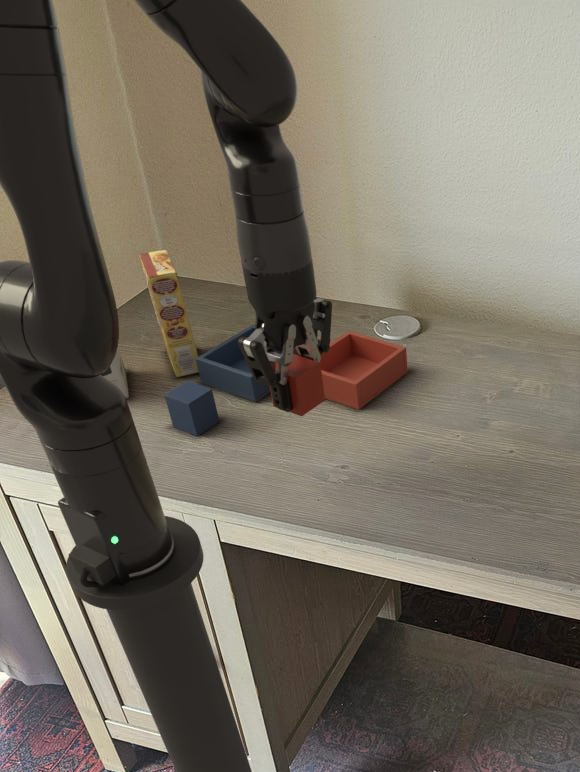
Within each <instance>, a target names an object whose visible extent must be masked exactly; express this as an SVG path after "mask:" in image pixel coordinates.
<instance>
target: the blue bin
mask: <svg viewBox="0 0 580 772" xmlns="http://www.w3.org/2000/svg"><path fill="white" fill-rule="evenodd" d="M255 330H256V329H255V324H250V325H249V326H248V327H246V328H244V329H243V330H240V331H239V332H238V333H236V334H234V335H232V336H231V337H229V338H228V339H225V340H224V341H222V342H221V343H219V344H217V345H215V346H213V347H212V348H210V349H209V350H207V351H205V352H203V353H202V354H201V355H198V357H197V358H196V363H197V367H198V371H199V373H198V375H199V378H200V382H201V384H202V385H206V386H209V387H211V388H213V389H217V390H220V391H222V392H225V393H228V394H231V395H234V396H237V397H240V398H243V399H245V400H248V401H250V402H253V403H257V402H258V401H260V400H261V399H263V398H264V397H266V396H267V395H269V394H271V391H270V386H269V385H267V384H265V383H262V382H258V381H255V380H254V378H253V375H252V373H251V371H250V369H249V367H248V365H247V363H246V360H245V358H244V356H243V354H242V352H241V350H240V348H239V345H238V340H239V338H240V337H245V338H248V337H249V336H250V335H251V334H252V333H253V332H254V331H255ZM274 351H275V352H276V353H278V354H281V355H282V353H283V352H281V351H278V350H275V349H274ZM293 354H295V355H298V353H297V351H296V348H294V349H293ZM298 356H299V355H298Z"/></svg>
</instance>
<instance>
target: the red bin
mask: <svg viewBox="0 0 580 772" xmlns="http://www.w3.org/2000/svg"><path fill="white" fill-rule="evenodd" d="M407 356H408V355H407V347H405V346H403V345H399V344H396V343H392V342H388V341H385V340H382V339H380V338H379V339H378V338H376V337H373V336H368V335H365V334H362V333H359V332H356V331H352V330H348V331H346V332H345V333H343V334H341V335H340V336H338V337H337V338H335V339H334V340H332V341H330V348H329V351H328V352H327V353H325V352H323V353H322V355H321V360H320V364H321V372H322V380H323V387H324V395H325V400H329V401H332V402H335V403H337V404H340V405H344V406H346V407H350V408H351V409H352V408H353V409H356V410H361V409H362V408H363V407H365V406H366V405H367V404H368V403H370V402H371V401H372V400H373V399H375V398H376V397H378V396H379V395H380V394H381V393H382V392H384V391H385V390H387V389H388V388H389V387H391V386H392V385H393V384H394V383H396V381H398V380H400V379H402V377H403V376H405V375H406V374H407V373H408V372H409V370H408V357H407Z"/></svg>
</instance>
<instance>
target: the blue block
mask: <svg viewBox="0 0 580 772" xmlns="http://www.w3.org/2000/svg"><path fill="white" fill-rule="evenodd" d="M163 396H164V400H165V403H166V406H167V410H168V413H169V417H170V421H171V424H172V427H173V428H175V429H177V430H180V431H182V432H185V433H188V434H191V435H193V436H196V437H198V436H200V435H202V434H203V433H204V432H206V431H207V430H209V429H210V428H212V427H213V426H215V425H216V424H217V423H219V422H220V417H219V411H218V409H217V405H216V400H215V396H214V393H213V389H212V388H210V387H207V386H204V385H203V384H202V385H201V384H198V383H196V382H193V381H190V380H186V381H184V382H183V383H181V384H180V385H178V386H177V387H174V388H173V389H172V390H170V391H168V392H167V393H165V394H163Z"/></svg>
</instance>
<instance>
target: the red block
mask: <svg viewBox="0 0 580 772" xmlns="http://www.w3.org/2000/svg"><path fill="white" fill-rule="evenodd" d="M278 370H279V365H278V363H276V367H275V371H277V372H278ZM288 382H289V384H290V390H291V396H292V402H293V410H291V411H290V412H289V413H291V414H293V415H297V416H299V417H304V416H305V415H306V414H308V413H309V412H311V411H312V410H313V409H315V408H316V407H318V406H319V405H320V404H323V403H324V402H325V401H326V398H325V395H324V387H323V380H322V372H321V364H320V362H317V361H314V360H311V359H307V358H304V357H301V356H298V355H295V354H293V361H292V363H291V364H289V371H288ZM270 391H271V387H270ZM270 396H271V403H272V406H273V408H277V407H276V406H275V405H274V403H273V398H272V392H270Z"/></svg>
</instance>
